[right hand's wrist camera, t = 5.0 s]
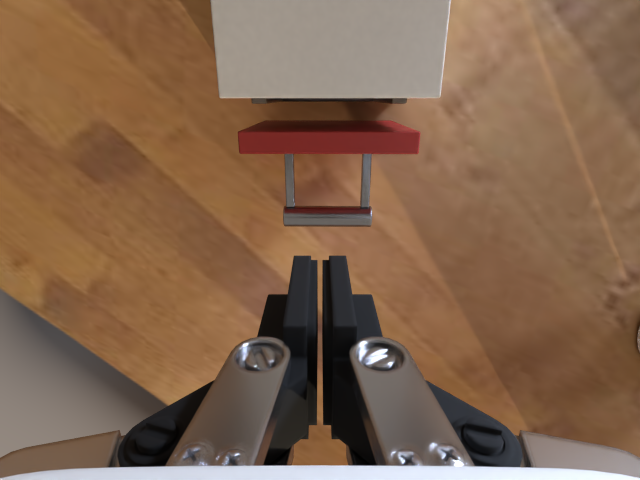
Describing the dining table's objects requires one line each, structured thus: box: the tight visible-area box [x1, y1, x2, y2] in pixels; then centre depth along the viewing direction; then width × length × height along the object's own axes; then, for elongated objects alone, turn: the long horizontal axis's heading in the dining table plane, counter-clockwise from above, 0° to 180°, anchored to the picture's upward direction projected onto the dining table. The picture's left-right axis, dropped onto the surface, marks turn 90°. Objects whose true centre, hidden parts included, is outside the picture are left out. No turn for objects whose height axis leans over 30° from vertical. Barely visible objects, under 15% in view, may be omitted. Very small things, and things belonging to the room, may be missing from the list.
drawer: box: [238, 98, 420, 227], centre depth 24 cm, size 21×10×10 cm, turn 0°
